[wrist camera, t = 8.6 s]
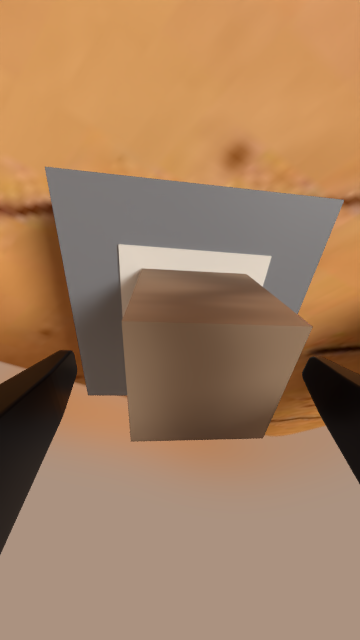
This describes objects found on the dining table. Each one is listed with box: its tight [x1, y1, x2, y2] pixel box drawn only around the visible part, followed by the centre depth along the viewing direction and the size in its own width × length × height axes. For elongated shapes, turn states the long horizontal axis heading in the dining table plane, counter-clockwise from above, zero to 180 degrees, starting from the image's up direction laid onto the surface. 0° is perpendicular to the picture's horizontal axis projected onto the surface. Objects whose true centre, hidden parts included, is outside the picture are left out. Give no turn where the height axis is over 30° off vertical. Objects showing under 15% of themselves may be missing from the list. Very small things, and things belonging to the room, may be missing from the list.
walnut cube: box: [122, 268, 313, 441], centre depth 9 cm, size 5×5×5 cm
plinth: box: [45, 167, 344, 395], centre depth 13 cm, size 12×12×4 cm
